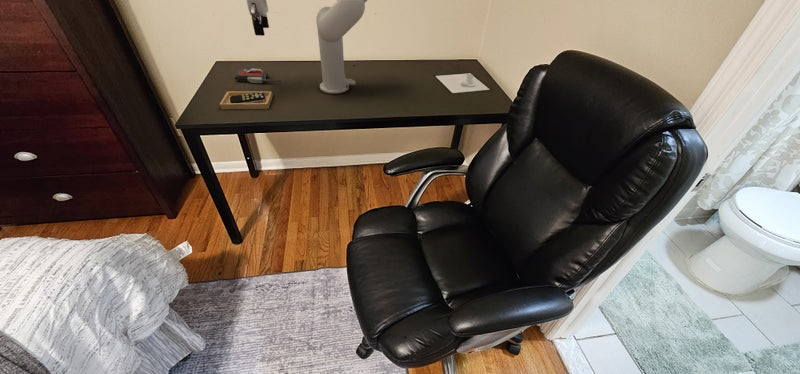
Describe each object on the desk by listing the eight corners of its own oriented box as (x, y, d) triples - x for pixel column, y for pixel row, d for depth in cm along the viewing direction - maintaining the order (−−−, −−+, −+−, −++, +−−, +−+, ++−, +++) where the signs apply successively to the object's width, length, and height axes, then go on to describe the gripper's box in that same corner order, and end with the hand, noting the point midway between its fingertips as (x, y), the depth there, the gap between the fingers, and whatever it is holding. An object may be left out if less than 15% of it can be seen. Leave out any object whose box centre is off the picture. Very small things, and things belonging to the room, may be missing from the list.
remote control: (230, 100, 123) (228, 95, 122) (264, 95, 128) (263, 90, 126) (231, 107, 119) (230, 102, 118) (266, 102, 124) (265, 97, 122)
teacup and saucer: (463, 87, 147) (464, 79, 145) (455, 81, 153) (457, 72, 150) (479, 86, 150) (481, 78, 147) (471, 79, 155) (473, 71, 153)
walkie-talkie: (233, 83, 135) (280, 84, 137) (230, 73, 132) (278, 75, 134) (239, 75, 142) (284, 76, 144) (236, 65, 139) (282, 67, 141)
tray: (272, 96, 129) (271, 91, 128) (268, 108, 121) (267, 103, 119) (228, 96, 126) (227, 91, 125) (221, 109, 118) (219, 104, 117)
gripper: (257, -18, 101) (269, 38, 112) (267, -26, 114) (276, 25, 125) (233, -19, 100) (247, 38, 111) (245, -27, 112) (256, 24, 124)
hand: (262, 31), depth 118 cm, fingers open, 9 cm apart
